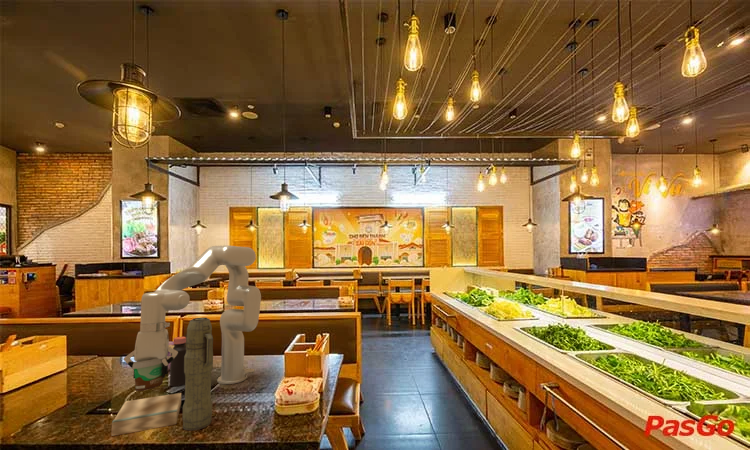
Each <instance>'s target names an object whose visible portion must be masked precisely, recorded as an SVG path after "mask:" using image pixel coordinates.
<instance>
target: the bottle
mask: <svg viewBox="0 0 750 450" xmlns="http://www.w3.org/2000/svg"><path fill="white" fill-rule="evenodd" d="M173 342H174V343H173V344H174V348H173V349H174V350H176V351H177V352H178V354H177V355H176V357H175V358H174V359H173V360H172V361H171V362H170V370H169V385H170V386H171V387H181V386H185V373H184V356H185V354H186V336H177V337H174V338H173ZM171 356H172V353H171Z"/></svg>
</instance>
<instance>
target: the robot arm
mask: <svg viewBox="0 0 750 450" xmlns="http://www.w3.org/2000/svg"><path fill="white" fill-rule="evenodd" d="M256 257H257V256H256V252H255V250H254V249H253V248H251V247H249V246H235V245H211V246H210V247H208V248H207V249H205V250H204V252H203V253H202V254H201V255H199V257H197V258H196V259H195V261H194V262H192V263H191V264H190V265H189V266H188V267H187V268H185V269H182V270H181V271H180V272H178V273H176V274H174V275H172V276H170V277H169V278H168V279H166V280H165V281H164V282H163V283H162V284H160V285H159V286H158V288H157V289H156V290H155V291H153V292H146V293H143V294H142V295H141V304H140V305H141V306H140V325H139V327H140V328H139V331H138V332H137V335H136V338H135V339H136V340H135V344H134V350H132V352H130V353H128V354H127V355H126V356H125V357H124V358H123V360H124V362H125V363H126V364H127V365H128V366H129V367H130V368H131V369H132V367H133V363H134V362H141V361H148V360H152V359H156V358H158V359H162V362H163V367H162V377H163V379H165V377H166V375H168V372H169V370H168V364H169V363H170V362H171V361H172V360H173V359H174V358H175V357H176V355H177V354H178V352H177V351H176V350H174V349H172V348H171V347H169V342H170V341H169V340H170V339H169V338H170V337H169V332H168V331H169V330H168V327H169V328H170V325H171V323H170V322H166V313H167V312H168V311H180V310H184V309H185V308H186V307H187V306H188V305H189V304H190V301H191V300H190V297H191V296H190V295H189V293H187V291H185V289H187V288H189V287H193V286H195V285H199V284H201V283H204V282H205V281H207V280H208V278H209V277H210V276H211V275H212V274H213V273H214V272H215V271H216V270H217V269H218V268H219V266H225V267H226V269H227V270H228V275H229V277H228V278H229V280H228V287H227V293H226V302H227V303H228V305H230V306H233V307H235V306H236V307H243V308H242V309H241V308H229V309H226V310H225V311H223V312H222V313H221V315H220V318H219V326H220V331H221V365H220V366H221V369H220V370H221V372H220V373H221V375H220V376H219V377H218V378H217V381H216V382H217V383H218V384H219V385H220V384H221V385H234V384H238V383H239V384H240V383H241V382H244V381H245V380H247V379H248V375H249V374H255V368H250V367H249V368H245V364H244V363H245V336H244V333H243V332H246V333H247V332H252V331H255V329H256V328H257V326H258V323H259V318H260V310H261V303H262V295H261V290H260V289H259V288H258V287H257V286H255V285H249V272H248V271H249V270H248V269H247V267H249V266H252V265H253V264H254V262H255V261H256ZM166 328H167V329H166ZM169 352H170V353H172V356H171V357H170V358H169V359H167V358H166V357H167V355H168V353H169ZM132 357H133V360H134V361H133V360H132V359H131V358H132ZM132 370H133V371H134V369H132ZM133 379H135V375H134V374H133Z"/></svg>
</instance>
